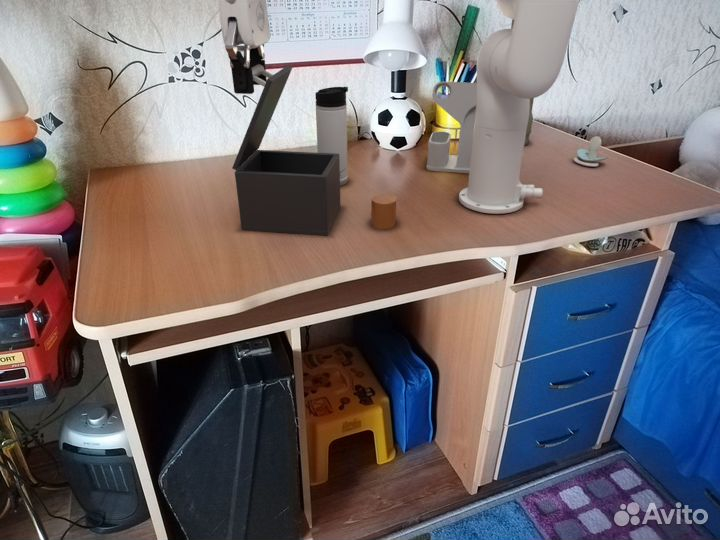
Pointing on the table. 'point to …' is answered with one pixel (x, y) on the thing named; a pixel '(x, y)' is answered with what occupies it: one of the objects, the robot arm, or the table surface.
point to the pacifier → (590, 153)
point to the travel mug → (333, 125)
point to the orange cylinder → (383, 211)
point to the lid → (262, 110)
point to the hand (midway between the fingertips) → (251, 87)
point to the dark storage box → (289, 192)
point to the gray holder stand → (464, 112)
